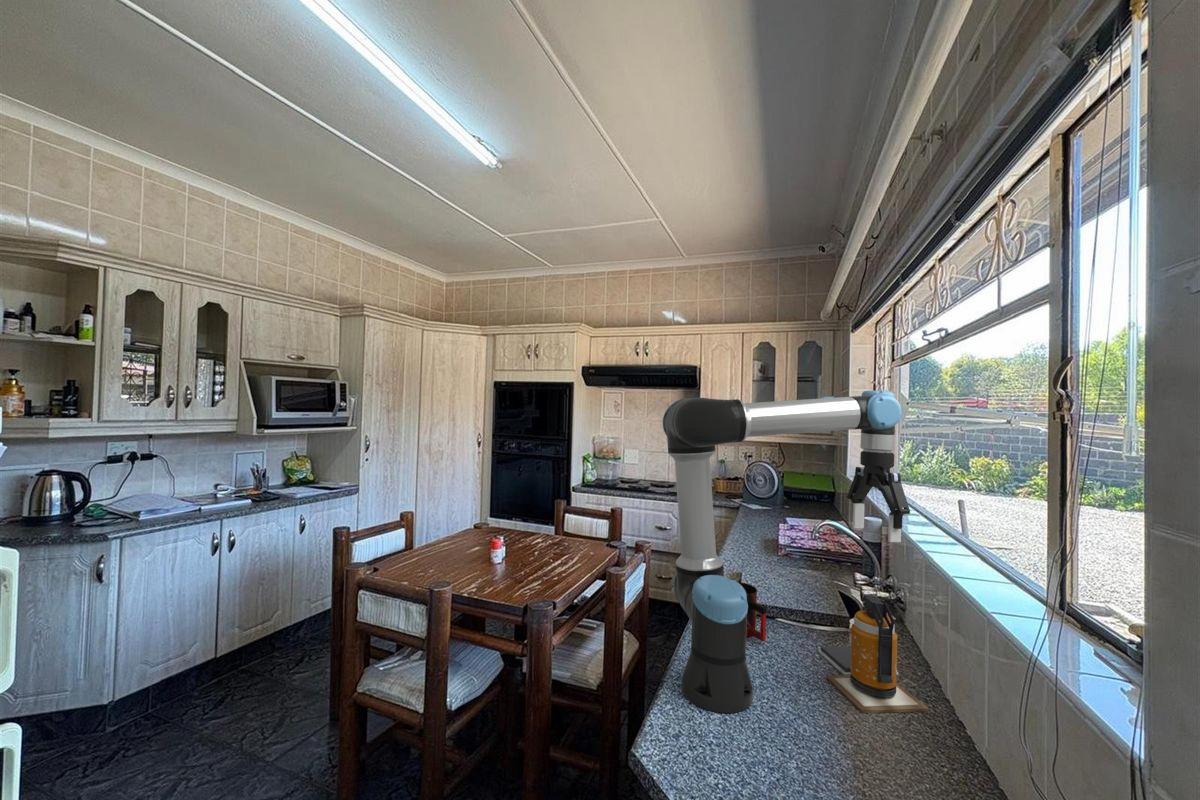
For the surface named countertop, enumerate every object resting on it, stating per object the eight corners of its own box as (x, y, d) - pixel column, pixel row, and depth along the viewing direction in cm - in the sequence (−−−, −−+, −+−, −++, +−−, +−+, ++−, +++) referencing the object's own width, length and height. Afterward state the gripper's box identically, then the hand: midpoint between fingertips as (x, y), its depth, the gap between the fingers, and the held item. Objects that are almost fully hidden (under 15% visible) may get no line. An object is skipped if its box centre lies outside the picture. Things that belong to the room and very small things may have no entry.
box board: (862, 713, 99) (862, 709, 99) (826, 678, 112) (826, 675, 112) (929, 711, 100) (929, 708, 100) (885, 677, 113) (885, 674, 113)
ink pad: (845, 676, 113) (845, 669, 113) (817, 651, 125) (818, 645, 125) (898, 675, 114) (898, 668, 114) (866, 651, 126) (867, 644, 126)
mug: (764, 647, 126) (765, 601, 127) (714, 631, 135) (716, 588, 135) (775, 634, 134) (776, 591, 134) (728, 620, 142) (729, 579, 143)
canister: (883, 679, 111) (885, 592, 112) (909, 707, 100) (911, 611, 101) (843, 675, 112) (845, 589, 113) (864, 703, 101) (867, 608, 102)
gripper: (929, 456, 110) (927, 548, 110) (859, 447, 135) (858, 523, 135) (898, 455, 110) (896, 548, 109) (834, 446, 135) (832, 522, 134)
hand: (875, 534), depth 122 cm, fingers open, 13 cm apart
